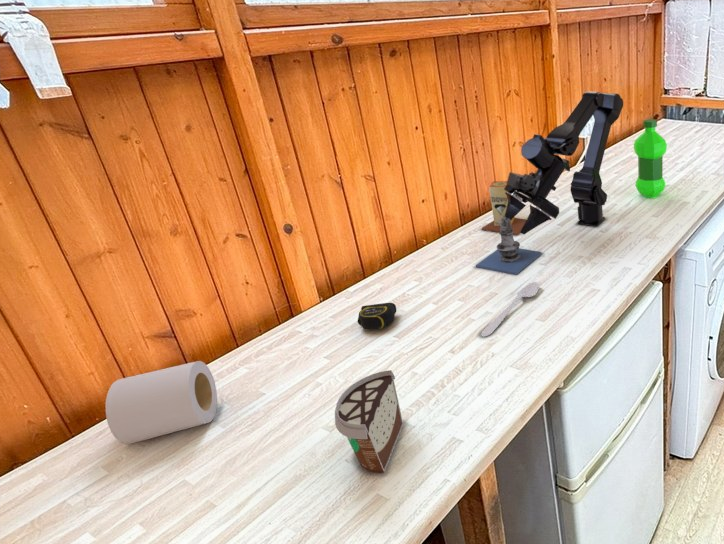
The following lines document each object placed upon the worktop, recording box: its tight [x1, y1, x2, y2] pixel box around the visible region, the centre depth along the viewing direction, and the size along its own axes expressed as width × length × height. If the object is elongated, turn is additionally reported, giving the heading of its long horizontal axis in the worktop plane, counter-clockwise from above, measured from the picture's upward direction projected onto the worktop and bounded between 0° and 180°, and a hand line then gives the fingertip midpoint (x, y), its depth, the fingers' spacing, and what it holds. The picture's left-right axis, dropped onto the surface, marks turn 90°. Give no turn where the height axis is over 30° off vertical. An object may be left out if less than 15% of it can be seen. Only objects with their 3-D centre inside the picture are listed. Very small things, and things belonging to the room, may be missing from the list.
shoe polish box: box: [488, 180, 516, 226], centre depth 153 cm, size 5×5×12 cm
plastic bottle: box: [633, 118, 668, 199], centre depth 169 cm, size 10×10×25 cm
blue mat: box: [475, 247, 542, 276], centre depth 133 cm, size 12×12×1 cm
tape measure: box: [357, 302, 397, 331], centre depth 108 cm, size 7×7×4 cm
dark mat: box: [481, 217, 527, 236], centre depth 154 cm, size 12×10×1 cm
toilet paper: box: [105, 360, 218, 445], centre depth 82 cm, size 10×10×10 cm
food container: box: [334, 369, 404, 474], centre depth 76 cm, size 12×6×10 cm, turn 5°
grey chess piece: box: [496, 215, 521, 263], centre depth 131 cm, size 6×6×12 cm
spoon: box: [480, 281, 540, 338], centre depth 111 cm, size 4×21×2 cm, turn 157°
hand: (513, 228), depth 131 cm, fingers open, 9 cm apart
